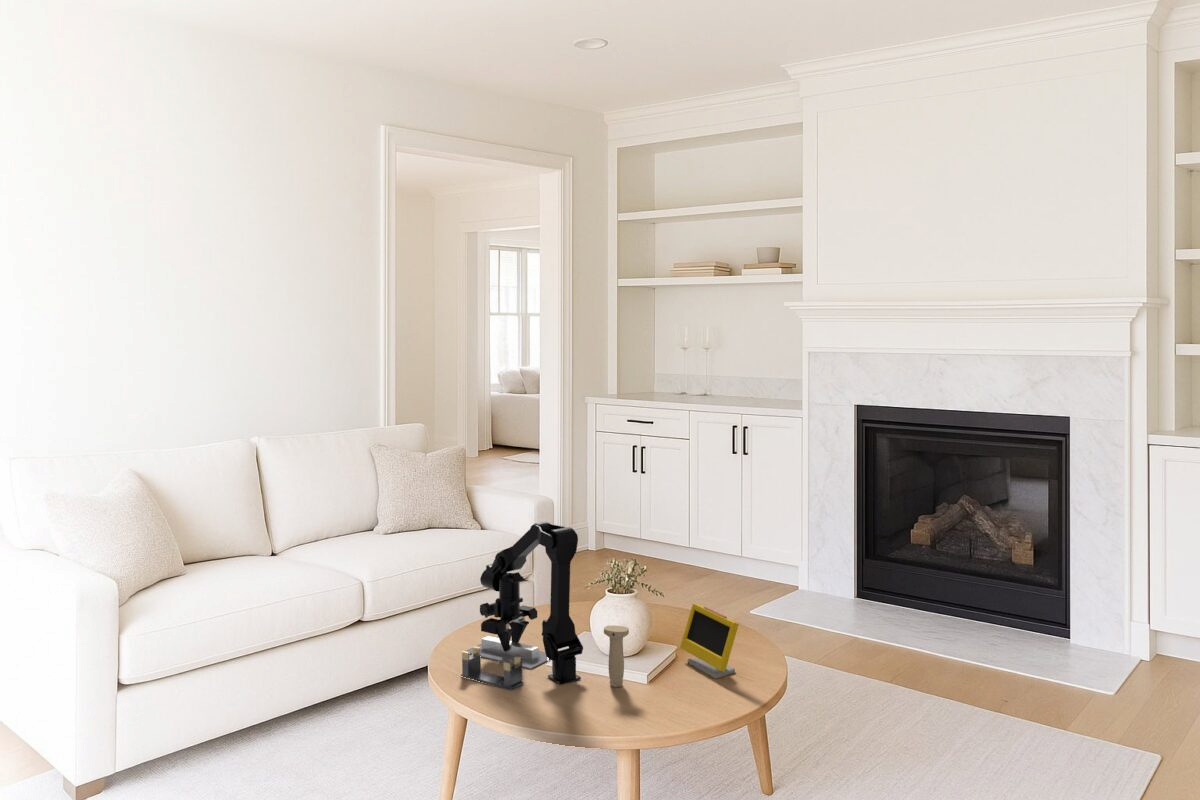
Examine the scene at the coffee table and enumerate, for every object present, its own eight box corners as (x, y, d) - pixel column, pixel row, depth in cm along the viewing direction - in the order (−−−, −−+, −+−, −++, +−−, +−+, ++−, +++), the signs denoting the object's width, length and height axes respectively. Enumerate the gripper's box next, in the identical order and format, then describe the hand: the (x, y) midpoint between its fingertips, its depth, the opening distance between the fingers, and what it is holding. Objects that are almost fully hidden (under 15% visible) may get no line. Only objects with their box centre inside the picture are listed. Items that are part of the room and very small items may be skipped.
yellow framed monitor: (679, 659, 263) (680, 603, 262) (703, 655, 266) (703, 600, 265) (720, 683, 245) (721, 624, 244) (745, 678, 249) (746, 619, 248)
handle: (607, 680, 247) (607, 624, 246) (631, 683, 245) (631, 627, 244) (601, 687, 243) (601, 630, 242) (625, 690, 241) (625, 632, 239)
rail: (538, 657, 263) (538, 647, 263) (532, 660, 261) (531, 650, 260) (488, 646, 273) (488, 635, 273) (481, 648, 270) (481, 638, 270)
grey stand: (523, 684, 245) (523, 658, 244) (511, 690, 240) (511, 663, 240) (473, 671, 254) (473, 645, 253) (461, 677, 250) (460, 651, 249)
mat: (557, 656, 265) (557, 655, 265) (530, 669, 255) (530, 668, 255) (490, 641, 278) (490, 639, 278) (463, 652, 268) (463, 651, 268)
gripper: (507, 583, 278) (508, 635, 279) (465, 598, 262) (466, 653, 263) (538, 588, 271) (538, 642, 273) (496, 604, 256) (497, 661, 257)
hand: (510, 649), depth 267 cm, fingers open, 4 cm apart
